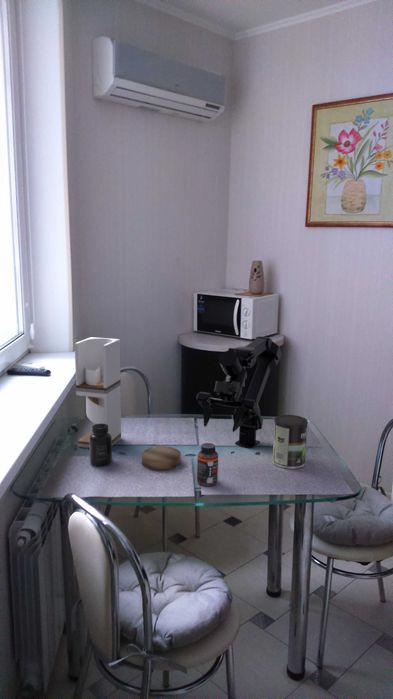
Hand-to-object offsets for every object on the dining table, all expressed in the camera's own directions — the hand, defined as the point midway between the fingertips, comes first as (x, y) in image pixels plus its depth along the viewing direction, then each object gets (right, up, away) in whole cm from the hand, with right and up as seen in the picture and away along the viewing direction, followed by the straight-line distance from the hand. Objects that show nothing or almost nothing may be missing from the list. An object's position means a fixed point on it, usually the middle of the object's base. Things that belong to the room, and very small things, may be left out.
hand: (218, 428), depth 162 cm
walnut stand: (-18, -12, +8) cm, 23 cm away
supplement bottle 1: (-36, -12, +7) cm, 39 cm away
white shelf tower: (-39, -8, +23) cm, 47 cm away
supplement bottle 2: (-4, -15, -5) cm, 16 cm away
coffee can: (+22, -12, +10) cm, 27 cm away
